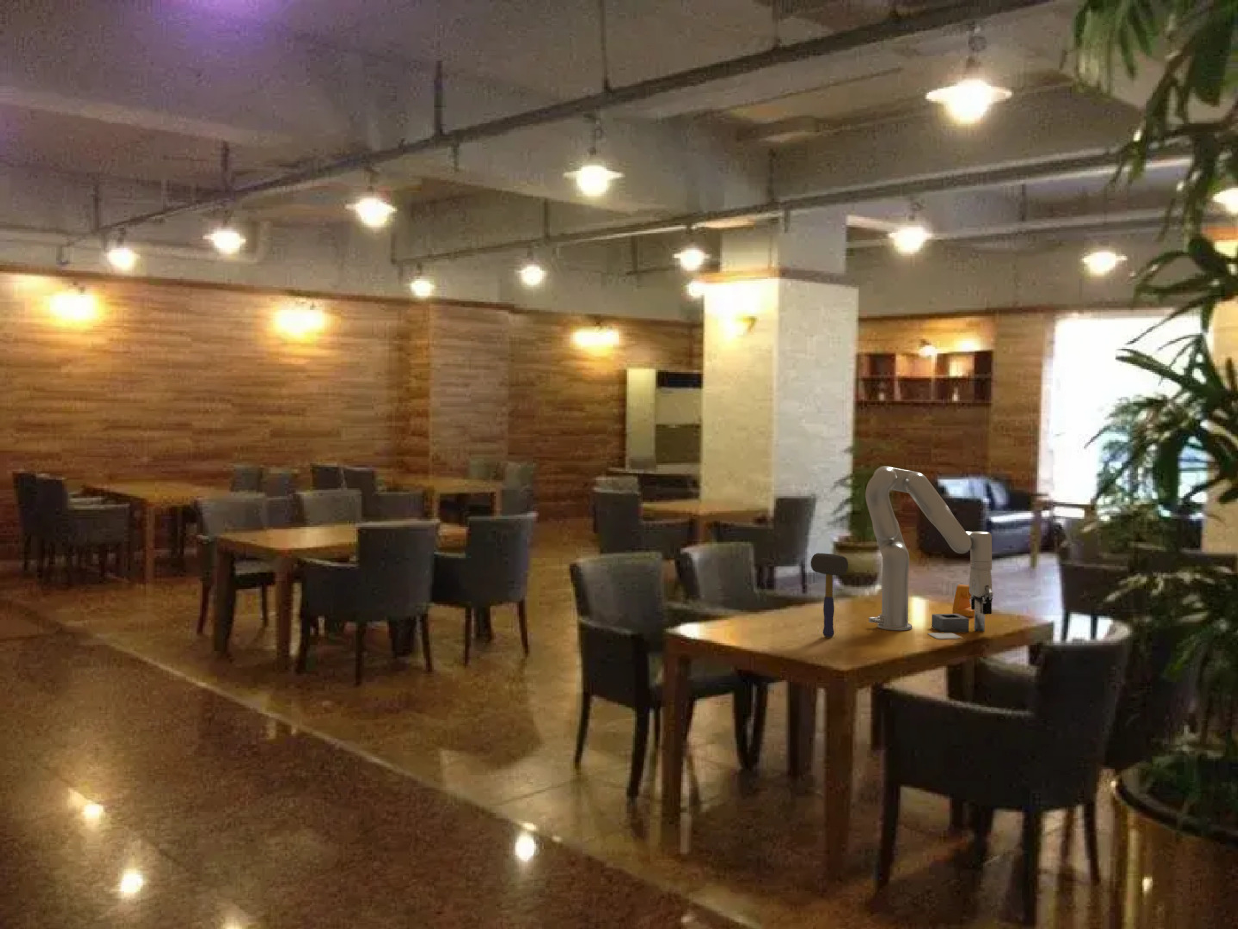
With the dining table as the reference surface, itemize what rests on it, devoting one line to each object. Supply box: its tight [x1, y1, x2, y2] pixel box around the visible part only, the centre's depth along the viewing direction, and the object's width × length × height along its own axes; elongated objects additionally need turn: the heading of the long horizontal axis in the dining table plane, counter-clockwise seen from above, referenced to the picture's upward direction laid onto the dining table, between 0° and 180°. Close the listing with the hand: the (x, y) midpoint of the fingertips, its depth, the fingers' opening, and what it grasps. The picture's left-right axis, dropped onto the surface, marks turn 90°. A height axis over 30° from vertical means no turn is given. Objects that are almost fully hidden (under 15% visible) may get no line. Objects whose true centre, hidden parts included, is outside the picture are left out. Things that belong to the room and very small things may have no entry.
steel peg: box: [973, 595, 986, 632], centre depth 423 cm, size 5×5×13 cm
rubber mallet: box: [810, 552, 849, 639], centre depth 410 cm, size 12×8×30 cm, turn 40°
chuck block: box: [931, 613, 970, 633], centre depth 425 cm, size 10×10×5 cm
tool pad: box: [927, 632, 963, 640], centre depth 413 cm, size 9×9×1 cm
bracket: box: [951, 583, 975, 618], centre depth 455 cm, size 11×7×12 cm, turn 136°
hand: (981, 611), depth 423 cm, fingers open, 9 cm apart
